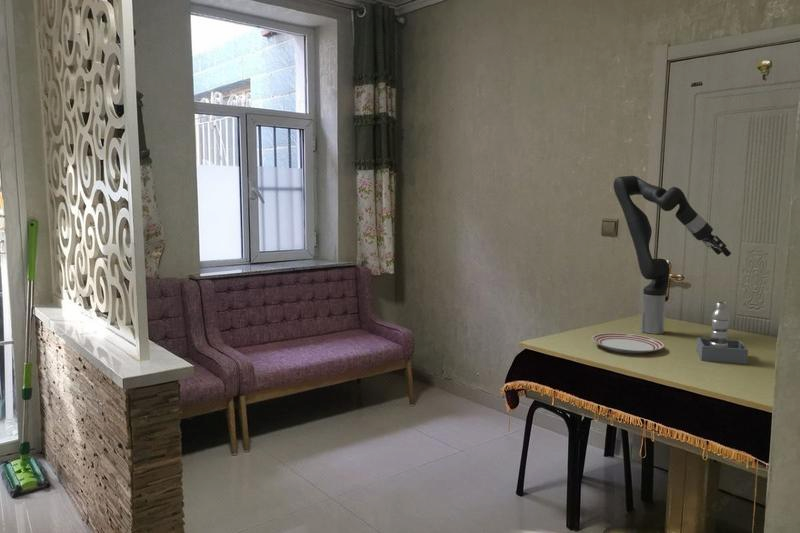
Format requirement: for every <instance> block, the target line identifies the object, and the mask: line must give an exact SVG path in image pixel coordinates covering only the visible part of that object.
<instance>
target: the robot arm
mask: <svg viewBox="0 0 800 533" xmlns="http://www.w3.org/2000/svg"><path fill="white" fill-rule="evenodd" d="M613 190H614V194H615V196H616V199H617V200H618V203H619V206H620V207H621V210H622V213H623V215H624V217H625V222H626V224H627V228H628V231H629V234H630V237H631V240H632V243H633V246H634V248H635V249H634V250H635V253H636V257H637V261H638V262H637V263H638V266H639V270H640V275H641V276H642V277H643V278H644V279H646V280H649V281H650V280H651V282H649V283H648V284H647V285H646V286H644V287H643V291H642V293H643V294H642V295H643V296H642V309H641V326H640V327H641V328H640V330H641V333H646V334H655V335H656V334H657V335H658V334H659V335H660V334H664V329H665V310H666V293H667V290H668V288H669V280H670V265H669V263H668V261H667V260H666V259H664V258H653V257H652V253H651V250H650V242H651V240H652V239H651V237H652V230H653V229H652V226H651V224H650V221H649V220H650V219H649V218H648V216H647V215H646V213H645V212H644V211H643V210H642V209H641V208H639V207H638V206H637V205H636V204H635V203H634V201H633V200H632V198H631V196H634V195H636V196H637V195H639V196H642V198H644V200H646V201H648V202H651V203H654V204H656V205H658V206H659V208H660V209H661V210H662V211H664V212H671V211H672V210H674V209H675V208H676V207H677V206H678V205H679V207H678V209H677V211H676V213H675V218H676V219H677V220H678V221H679V222H681V224H682V225H683V226H684V228H685V229H686V230H687V231H688V232H689V233H690V234H691V235H692V236H693V237H694V238H695V239H696V240H697V241H701V242H703V244H704V245H705V246H706V247H707V248H709V249H712V250H713V252H714V253H715V254H716V255H721V253H722V254H723V255H724V256H725V257H730V255H731V254H732V252H731V251H730V250H729V249H728V248H727V244H726V243H724V241H723V240H722V239H720V238H719V236H717V235H715V234H712V232H713V230H714V228H713V227H712V225H710V224H709V222H708V221H706V219H704V218H703V217H702V216H701V215H700V214H698V213H697V211H696V210H694V208H693V207H692V206H691V205H690V203H689V201H688V199H687V197H686V196H685V193H684V192H683V190H682V189H680V188H679V187H677V186H671V187H670V188H668V189H667V190H666V189H665V188H663V187H661V186H657V185H653V184H651V183H649V182H647V181H645V180H643V179H641V178H640V177H638V176H635V175H626V176H625V175H623V176H618V177H616V178H615V179H614V181H613Z"/></svg>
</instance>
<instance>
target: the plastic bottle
mask: <svg viewBox="0 0 800 533" xmlns="http://www.w3.org/2000/svg"><path fill="white" fill-rule="evenodd" d="M715 304H716V305H715V309H714V311H713V312H712V314H711V315H710V316H711V336H710V338H711V341H710V345H709V346H711V347H724V348H728V343H727V340H728V330H729V325H730V321H731V315H730V314H729V311H728V310H727V308H728V302H724V301H716V303H715Z"/></svg>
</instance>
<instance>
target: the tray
mask: <svg viewBox="0 0 800 533" xmlns="http://www.w3.org/2000/svg"><path fill="white" fill-rule="evenodd" d="M696 340H697V341H696V345H697V346H696V352H697V355H698V356H699V358H700V361H702V362H714V363H723V364H724V363H726V364H737V365H738V364H739V365H746V364H747V365H748V358H749V349H748V348H747V346H745V344H744V343H743V342H742V341H741V340H739V339H727V343H728V348H724V347H711V346H709V345H710V341H711V337H710V338H709V337H697V339H696Z"/></svg>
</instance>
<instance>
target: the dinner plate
mask: <svg viewBox="0 0 800 533" xmlns="http://www.w3.org/2000/svg"><path fill="white" fill-rule="evenodd" d="M591 340H592V341H593V342H594V343H595V344H597V345H598V346H600V347H603V348H605V349H606V350H609V351H611V352H616V353H622V354H633V355H634V354H637V355H638V354H647V353H651V352H656V351H659V350H662V349H664V347H665V344H664V343H663V342H662V341H660V340H658V339H655V338H653V337H650V336H646V335H639V334H632V333H623V332H603V333H598V334H597V333H596V334H595V335H593V336H592V337H591Z"/></svg>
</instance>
